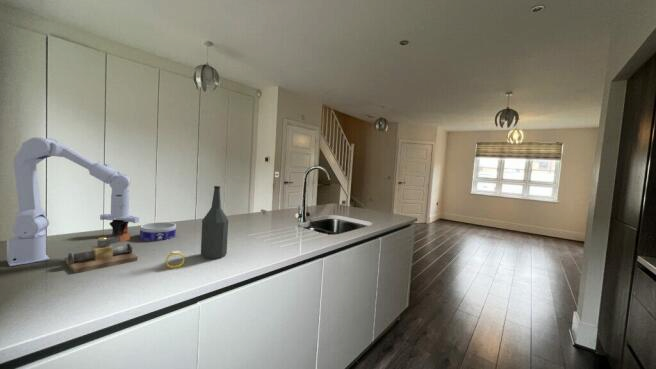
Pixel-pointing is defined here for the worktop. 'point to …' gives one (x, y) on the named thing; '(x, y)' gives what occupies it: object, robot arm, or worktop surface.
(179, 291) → the worktop surface
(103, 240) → the valve lever
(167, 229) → the dog bowl
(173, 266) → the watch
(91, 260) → the valve board
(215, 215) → the bottle
